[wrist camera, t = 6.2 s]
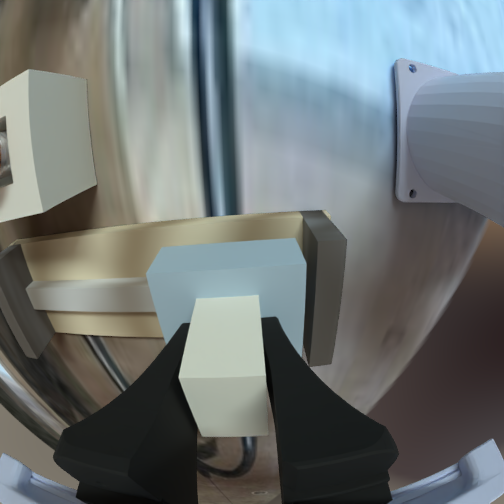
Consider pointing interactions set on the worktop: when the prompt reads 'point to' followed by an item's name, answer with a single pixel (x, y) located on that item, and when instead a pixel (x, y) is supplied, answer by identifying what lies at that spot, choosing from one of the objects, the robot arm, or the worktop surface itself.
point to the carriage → (228, 323)
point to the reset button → (4, 156)
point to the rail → (135, 281)
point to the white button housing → (44, 142)
